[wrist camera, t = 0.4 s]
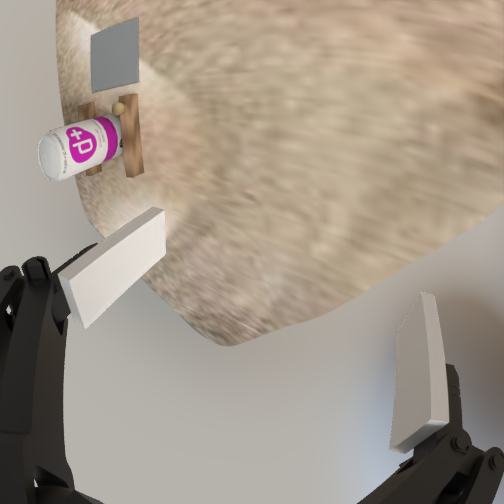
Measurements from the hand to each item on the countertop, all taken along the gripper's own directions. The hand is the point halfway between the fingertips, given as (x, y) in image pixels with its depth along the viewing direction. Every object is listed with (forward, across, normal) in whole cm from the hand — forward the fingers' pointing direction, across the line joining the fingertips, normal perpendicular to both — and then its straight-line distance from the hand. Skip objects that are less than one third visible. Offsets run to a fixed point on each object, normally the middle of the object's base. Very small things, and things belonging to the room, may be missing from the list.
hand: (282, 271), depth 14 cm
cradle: (+28, -38, -4) cm, 47 cm away
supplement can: (+28, -38, -4) cm, 47 cm away
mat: (+28, -39, +11) cm, 49 cm away
